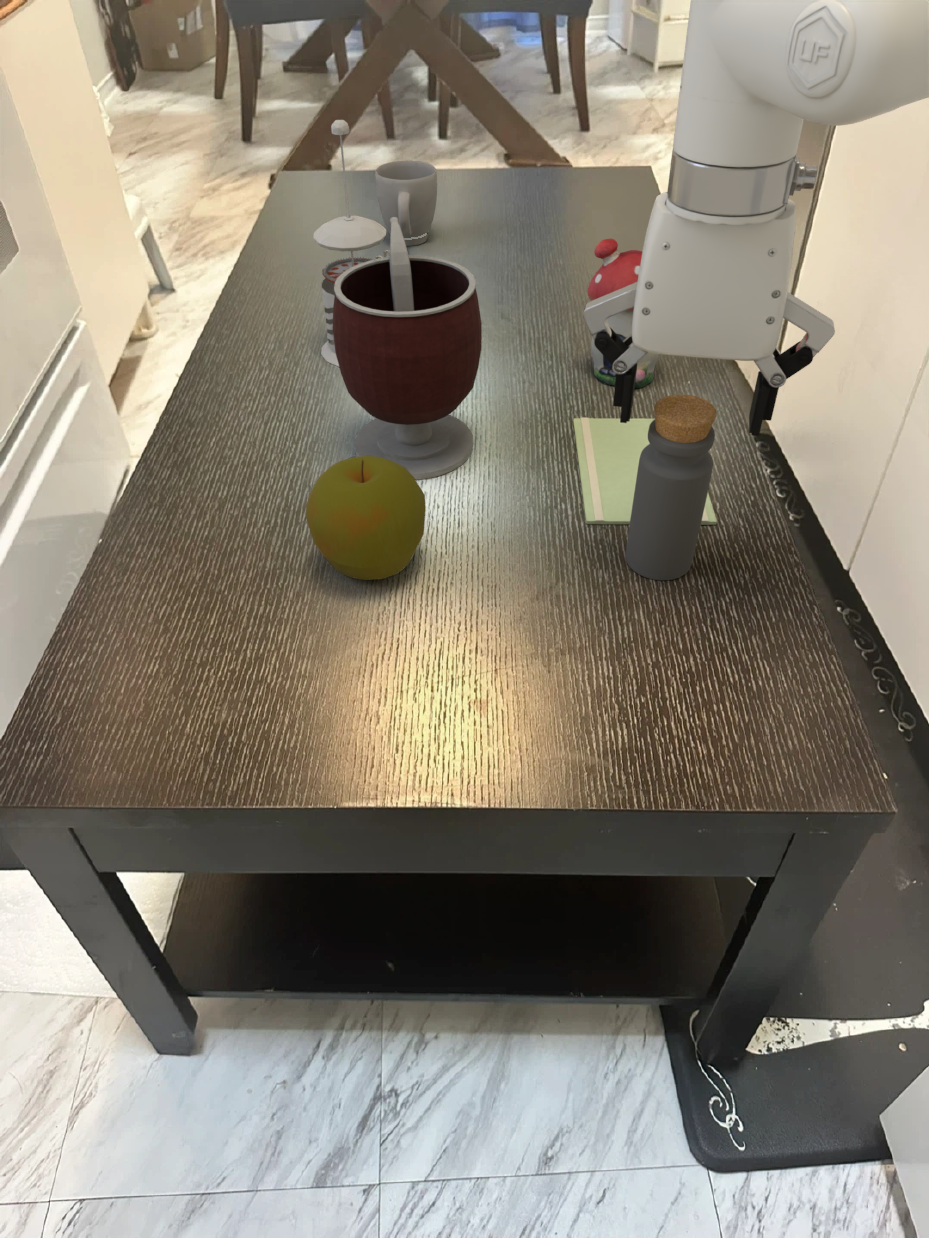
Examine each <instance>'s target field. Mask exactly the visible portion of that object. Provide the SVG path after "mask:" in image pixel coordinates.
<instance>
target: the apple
mask: <svg viewBox="0 0 929 1238" xmlns="http://www.w3.org/2000/svg"><path fill="white" fill-rule="evenodd" d="M426 510H427V509H426V495H425V493H424V492H423V490H422V488H421V487H420V485H419V484H418V481H417V479H415V478H414V477H413V476H412V475H411V474H410V472H409V471H408V470H407V469H406V468H405V467H403V466H401V465H399V464H397V463H395V462H393V461H391V460H388V459H385V458H382V457H376V456H360V457H357V456H352V457H349V458H346V459H342V460H339V461H338V462H336V463H334V464H332V465H331V466H330V467H328V468H327V469H326V470H325V471H324V472H323V473H322V474H321V475H320V476H319V477H318V479H317V480H316V481H315V483H314V485H313V486H312V489H311V491H310V494H309V496H308V500H307V501H306V504H305V511H306V512H305V517H306V518H305V519H306V522H307V526H308V528H309V529H308V530H309V531H310V535H311V539H312V541H313V544H314V545H315V546H316V548H317V550H319V553H321V555H322V556H323V557H324V558H325V559H326V561H327V562H328V563H329V564H330V565H331V566H332V567H333V568H334V570H335V571H336V572H339V573H340V574H341V575H344V576H346V577H349V578H352V579H359V580H362V581H371V580H372V581H373V580H383V579H386V578H389V577H392V576H395V575H398V574H399V573H400V572H401V571H403V570H404V569H405V568H406V567H407V566H409V564H410V562H411V560H412V559H413V556H414V555H415V553H416V550H417V548H418V547H419V545H420V543H421V540H422V539H423V536H424V535H425V523H426Z"/></svg>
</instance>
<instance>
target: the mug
mask: <svg viewBox="0 0 929 1238" xmlns="http://www.w3.org/2000/svg"><path fill="white" fill-rule="evenodd" d="M374 178H375V188H376V189H375V190H376V197H377V202H378V207H379V211H380V215H381V218H382V220H383V223H384V225H385V227H386V230H387V231H388V234H389V235H390V233H391V224H390V219H391V218H392V217H397V218H398V221H399V226H400V228H401V231H402V234H403V237H404V238H411V237H418V236H421V235H423V234H425V233H427V232H428V231H429V232H430V229H431V227H432V225H433V222H434V218H435V214H436V213H435V212H436V208H437V207H436V206H437V197H438V171H437V168H436V167H435V166H434V165H433V164H431V163H429V162H426V161H421V160H410V159H409V160H408V159H407V160H396V161H390V162H387V163H383V164H381V165H379V166H378V167H377V168H376V169H375V172H374ZM429 232H428V234H427V235H426V236H424V237H422V238H418V239H412V240H405V244H406V247H409V246H410V247H412V246H418V245H421V244H423V243H425V242H427V240H428V236H429ZM390 237H391V235H390Z"/></svg>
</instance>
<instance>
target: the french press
mask: <svg viewBox="0 0 929 1238" xmlns="http://www.w3.org/2000/svg"><path fill="white" fill-rule="evenodd" d="M330 129H331V130H330V131H331V134H332V135H334V136H339V141H340V143H339V144H340V152H341V164H342V174H343V184H344V194H345V204H346V205H345V207H346V215H341V216H339V217H336V218H334V219H331V220H329V221H326V222H324V223H323V224H321V225H320V226H319V227H318V228H317V229H316V230H314V232H313V237H312V238H313V240H314V241H315V243H316V244H317V245H319V246H320V247H321V248H323V249H325V250H326V249H327V250H329V251H336V252H350V256H349V257H346V258H340V259H336V260H333V261H331V262H330V263H327V264H326V265H325V266H324V267H323V268H322V277H323V278H324V279H322V281H321V295H322V304H323V305H322V306H323V307H324V318H325V327H326V336H327V340H326V342H325V343H324V344H323V345H322V346H321V353H320V356H321V357H322V358H323V359H324V361H326V362H327V363H329V364H331V365H333V366H336V367H339V364H338V360H337V357H336V353H335V345H334V336H333V305H334V297H335V292H334V285H335V282H336V280H337V278H338V277H339V276H340V275H341V274H342V273H343V272H345V271H346V270H348V269H350V268H351V267H353V266H356V265H358V264H361V263H364V262H367V261H370V260H374V258H369V257H368V258H367V257H365V258H364V256H363V257H361V256H360V257H359V256H357V257H356V256H354V252H358V251H363V250H364V251H365V250H369V249H371V248H374V247H376V246H379V245H380V244H381V243H382V242H383V241H384V240H385V238H386V236H387V228H385V227H384V226H383V225H382V224H380V223H379V222H378V221H375V220H373V219H370V218H366V217H363V216H359V215H350V209H349V207H350V206H349V198H348V188H347V186H348V185H347V177H346V167H345V158H344V147H343V146H344V145H343V136H344V135H348V134H350V133H351V132H350V131H351V130H350V126H349V124H348V122H347V121H346V120H344V119H335V120H334V121H333V123H331V126H330ZM387 254H389V255H390V249H385V250H384V251H383V256H382V255H381V254H379V255H376V256H375V259H380V258H385V257H387Z"/></svg>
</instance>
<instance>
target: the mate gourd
mask: <svg viewBox="0 0 929 1238" xmlns="http://www.w3.org/2000/svg"><path fill="white" fill-rule="evenodd" d="M390 224H391V236H390V238H389V239H390V240H389V251H390V254H389V256H386V257H385V258H384V257H383V258H378V259H376V258H375V259H374V258H373V260H370V261H367V262H364V263H361V264H358V265H356V266H353V267H351V268H350V269H348V270H346V271H345V272H343V273H342V274H341V275H340V276H339V277H338V278H337V280H336V282H335V285H334V292H335V297H334V305H333V336H334V345H335V353H336V357H337V360H338V364H339V371H340V374H341V378H342V381H343V383H344V385H345V388H346V390H347V393H348V395H350V397H351V398H352V399H353V400H354V401H355V402H356V403H357V404H358V405H359V406H360V407H362V409H364V410H365V412H367V413H368V414H369V415H370V416H372V417H373V418H374V419H371V420H370V421H368V422H367V423H366V424H365V425H363V426H362V427H361V428H360V429H359V431H358V432H357V433H356V436H355V438H354V453H355V457H360V456H376V457H382V458H385V459H388V460H391V461H393V462H395V463H397V464H399V465H401V466H403V467H405V468H406V469H407V470H408V471H409V472H410V474H411V475H412V476H413V477H414V478H415V480H425V479H432V478H436V477H439V476H443V475H446V474H449V473H451V472H453V471H455V470H457V469H458V468H460V467H461V466H462V465H464V464H465V462H467V461H468V460H469V459H470V457H471V455H472V453H473V450H474V436H473V432H472V431H471V429H470V427H469V426H467V424H466V423H464V421H462V420H460V419H459V418H457V417H456V416H453V415H451V414H452V413H453V412H454V411H456V409H457V408H458V407H459V406H460V405H461V404H462V403H463V401H465V399H466V398H467V397H468V395H469V394H470V393H471V391H472V390H473V388H474V386H475V383H476V378H477V375H478V370H479V365H480V359H481V353H482V335H483V334H482V328H483V327H482V325H483V324H482V318H481V317H482V316H481V310H480V304H479V297H478V292H477V289H476V287H477V286H476V285H477V284H476V283H477V282H476V278H475V276H474V275H473V273H472V272H471V271H470V270H469V269H467V268H466V267H464V266H463V265H460V264H459V263H457V262H454V261H451V260H448V259H444V258H439V257H434V256H433V257H432V256H426V255H409V251H408V248H407V247H408V246H406V244H405V240H404V237H403V234H402V231H401V228H400V226H399V221H398V218H397V217H392V218H391V219H390Z"/></svg>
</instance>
